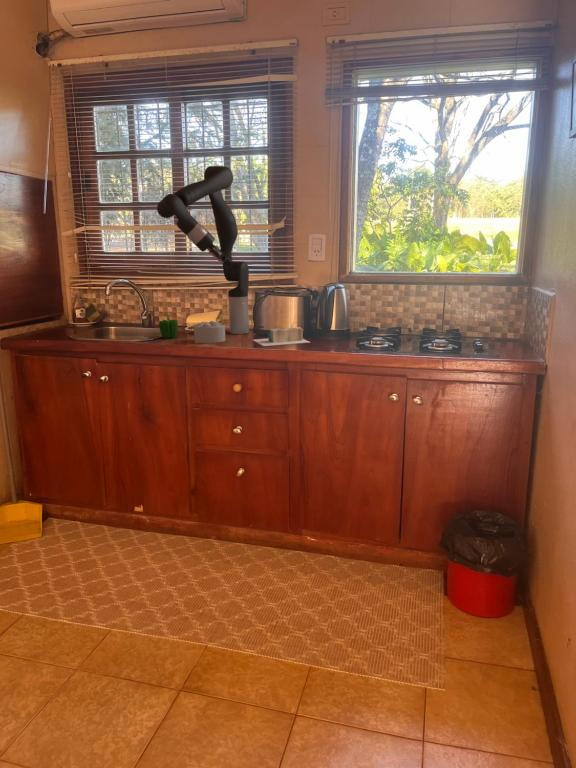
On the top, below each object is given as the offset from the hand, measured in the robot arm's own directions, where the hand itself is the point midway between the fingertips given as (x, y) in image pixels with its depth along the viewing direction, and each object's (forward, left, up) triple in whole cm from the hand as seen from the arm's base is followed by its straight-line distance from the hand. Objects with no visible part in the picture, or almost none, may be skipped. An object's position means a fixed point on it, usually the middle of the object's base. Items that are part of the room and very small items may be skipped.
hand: (231, 267), depth 226 cm
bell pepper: (-26, -23, -32) cm, 47 cm away
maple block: (+6, +14, -29) cm, 33 cm away
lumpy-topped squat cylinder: (-8, -8, -32) cm, 34 cm away
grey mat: (+6, +19, -32) cm, 38 cm away
